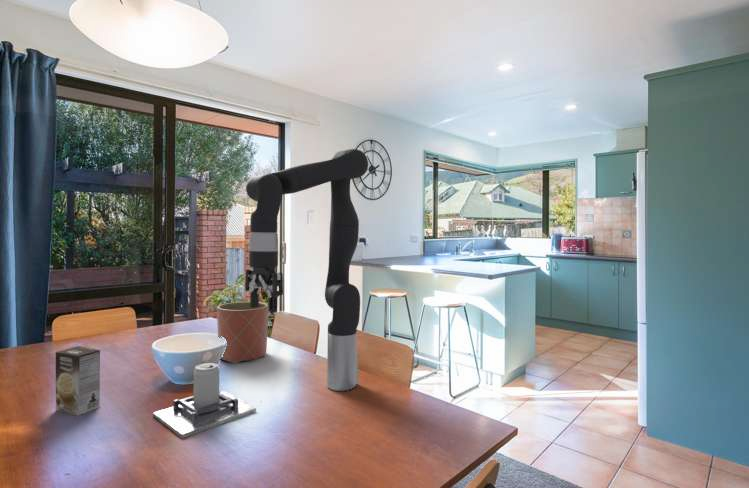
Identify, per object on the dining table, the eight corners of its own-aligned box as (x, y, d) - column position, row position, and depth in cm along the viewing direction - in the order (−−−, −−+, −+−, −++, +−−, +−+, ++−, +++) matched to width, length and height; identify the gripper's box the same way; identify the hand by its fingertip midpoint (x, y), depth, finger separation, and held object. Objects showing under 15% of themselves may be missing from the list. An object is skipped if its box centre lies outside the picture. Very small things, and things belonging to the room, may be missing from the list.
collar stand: (224, 394, 123) (224, 381, 123) (256, 411, 112) (256, 397, 112) (153, 416, 108) (153, 402, 108) (182, 438, 97) (182, 422, 97)
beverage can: (210, 416, 107) (210, 370, 106) (188, 414, 108) (188, 368, 107) (223, 406, 113) (224, 363, 112) (202, 404, 114) (202, 361, 114)
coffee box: (54, 411, 111) (53, 351, 110) (78, 401, 117) (77, 345, 116) (78, 416, 108) (77, 355, 107) (101, 406, 114) (101, 349, 113)
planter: (252, 346, 174) (252, 299, 174) (277, 356, 161) (277, 306, 161) (208, 356, 161) (208, 305, 160) (231, 367, 147) (231, 312, 147)
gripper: (291, 250, 109) (290, 311, 109) (260, 248, 118) (260, 304, 119) (267, 250, 103) (266, 315, 104) (236, 248, 113) (236, 307, 113)
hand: (263, 309), depth 111 cm, fingers open, 8 cm apart
